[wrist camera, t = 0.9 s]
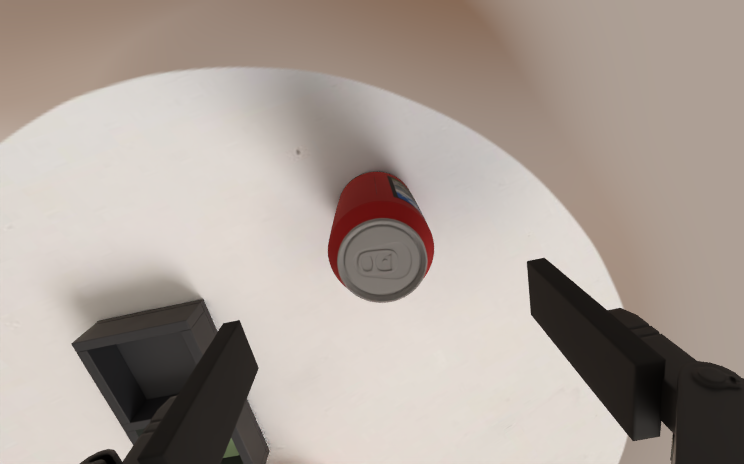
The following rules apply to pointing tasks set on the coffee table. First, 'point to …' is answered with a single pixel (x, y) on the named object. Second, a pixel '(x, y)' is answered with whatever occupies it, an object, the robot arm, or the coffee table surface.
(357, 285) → the beverage can
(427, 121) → the coffee table surface
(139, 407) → the divided tray
